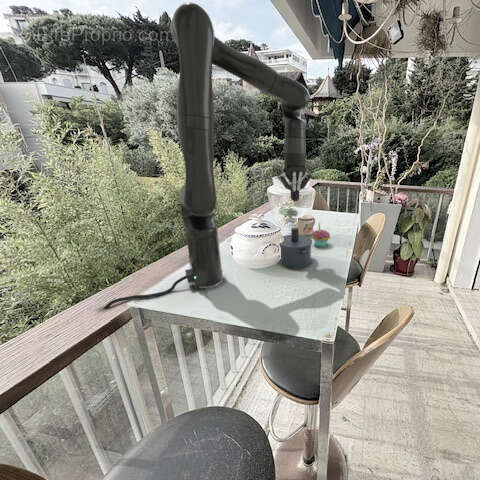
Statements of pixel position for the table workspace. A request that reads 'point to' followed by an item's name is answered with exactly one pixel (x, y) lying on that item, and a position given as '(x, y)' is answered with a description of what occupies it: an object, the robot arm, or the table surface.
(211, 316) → the table surface
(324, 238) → the cupcake
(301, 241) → the lid
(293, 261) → the pot
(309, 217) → the teacup with lid
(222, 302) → the table surface
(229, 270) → the table surface
